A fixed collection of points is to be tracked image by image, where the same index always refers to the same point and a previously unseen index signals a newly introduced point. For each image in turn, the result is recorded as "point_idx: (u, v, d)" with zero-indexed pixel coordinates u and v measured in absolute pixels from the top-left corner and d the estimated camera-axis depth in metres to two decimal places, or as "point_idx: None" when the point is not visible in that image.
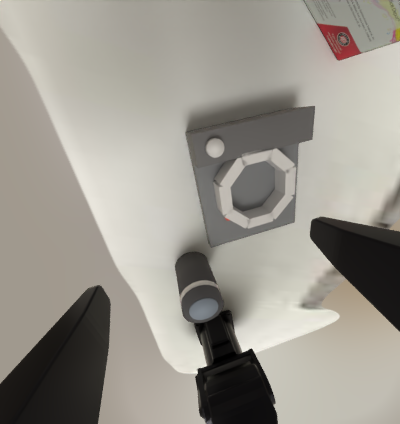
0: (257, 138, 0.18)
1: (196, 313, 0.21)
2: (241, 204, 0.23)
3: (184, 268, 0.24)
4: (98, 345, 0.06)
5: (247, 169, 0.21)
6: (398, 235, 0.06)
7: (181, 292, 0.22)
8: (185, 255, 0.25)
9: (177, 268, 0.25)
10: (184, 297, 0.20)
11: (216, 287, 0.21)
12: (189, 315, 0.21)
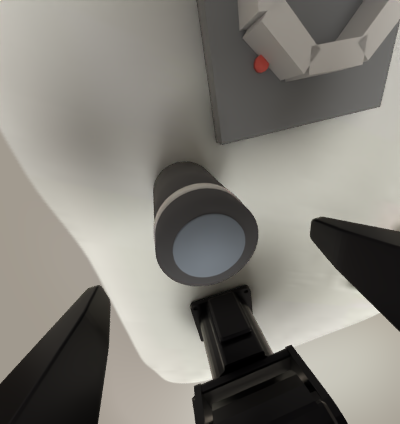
0: None
1: (191, 258, 0.08)
2: None
3: (167, 178, 0.11)
4: (98, 345, 0.06)
5: None
6: (398, 235, 0.06)
7: (156, 214, 0.09)
8: (171, 165, 0.13)
9: (155, 187, 0.13)
10: (161, 217, 0.08)
11: (239, 201, 0.09)
12: (174, 263, 0.08)
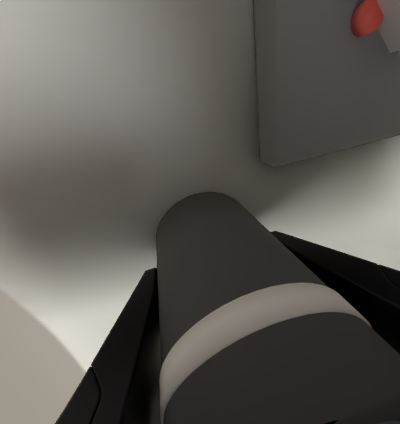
0: None
1: None
2: None
3: (184, 234, 0.06)
4: None
5: None
6: (336, 256, 0.05)
7: (166, 350, 0.04)
8: (187, 200, 0.08)
9: (160, 240, 0.07)
10: (183, 406, 0.03)
11: (367, 323, 0.04)
12: None
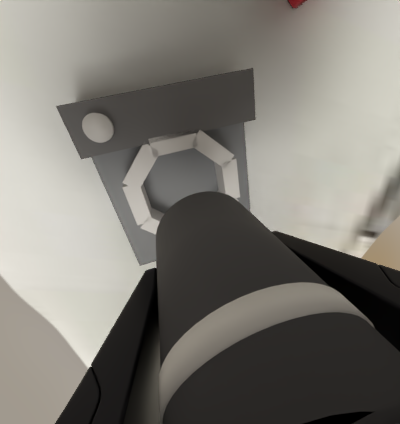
0: (169, 115, 0.12)
1: None
2: None
3: (184, 233, 0.06)
4: None
5: (174, 163, 0.16)
6: (336, 256, 0.05)
7: (166, 350, 0.04)
8: (187, 199, 0.08)
9: (159, 240, 0.07)
10: (182, 409, 0.03)
11: (370, 324, 0.04)
12: None
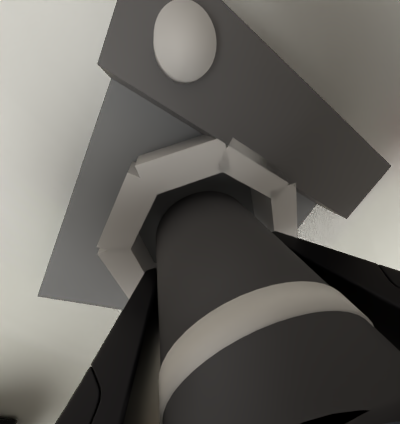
0: (283, 133, 0.07)
1: None
2: None
3: (184, 232, 0.06)
4: None
5: None
6: (336, 256, 0.05)
7: (166, 349, 0.04)
8: (187, 199, 0.08)
9: (159, 239, 0.07)
10: (183, 406, 0.03)
11: (370, 323, 0.04)
12: None
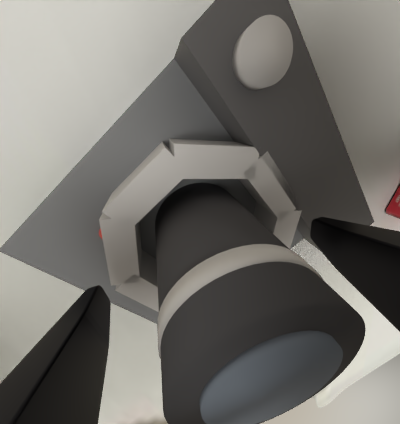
0: (307, 163, 0.08)
1: (236, 408, 0.04)
2: (154, 236, 0.10)
3: (178, 215, 0.07)
4: (98, 345, 0.06)
5: None
6: (398, 235, 0.06)
7: (163, 298, 0.05)
8: (182, 189, 0.09)
9: (158, 224, 0.08)
10: (174, 326, 0.04)
11: (319, 276, 0.05)
12: (200, 417, 0.04)
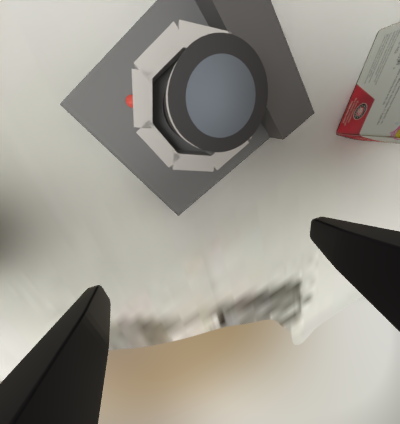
0: (262, 50, 0.12)
1: (203, 106, 0.08)
2: (162, 113, 0.14)
3: None
4: (98, 345, 0.06)
5: None
6: (398, 235, 0.06)
7: None
8: None
9: None
10: None
11: None
12: (186, 112, 0.08)
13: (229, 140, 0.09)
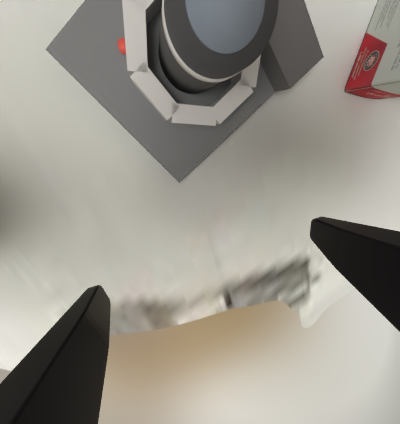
0: None
1: (205, 10, 0.07)
2: (157, 62, 0.13)
3: None
4: (98, 345, 0.06)
5: None
6: (398, 235, 0.06)
7: None
8: None
9: None
10: None
11: None
12: (186, 17, 0.07)
13: (236, 58, 0.08)
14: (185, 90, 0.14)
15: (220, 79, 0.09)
